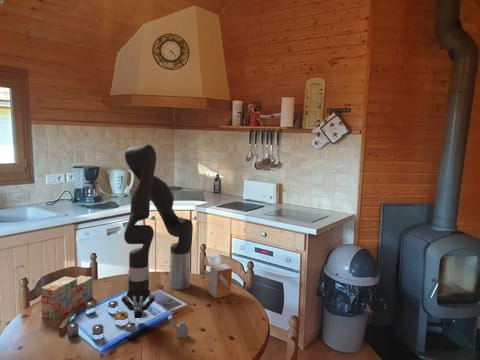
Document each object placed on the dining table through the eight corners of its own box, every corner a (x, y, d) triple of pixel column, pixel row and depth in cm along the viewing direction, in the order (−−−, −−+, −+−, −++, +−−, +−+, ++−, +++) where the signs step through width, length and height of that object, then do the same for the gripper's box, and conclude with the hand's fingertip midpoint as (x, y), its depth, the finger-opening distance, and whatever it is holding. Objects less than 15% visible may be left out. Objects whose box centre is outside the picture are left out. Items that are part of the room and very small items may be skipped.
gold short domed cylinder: (129, 319, 145) (129, 311, 144) (126, 326, 140) (126, 317, 140) (116, 319, 144) (116, 311, 144) (113, 326, 139) (113, 317, 139)
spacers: (143, 309, 153) (143, 300, 153) (134, 339, 131) (134, 329, 131) (84, 310, 151) (84, 300, 150) (64, 340, 129) (64, 330, 128)
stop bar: (77, 313, 148) (77, 307, 147) (63, 334, 133) (63, 327, 132) (73, 313, 147) (73, 307, 147) (58, 334, 133) (58, 327, 132)
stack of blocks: (81, 295, 164) (81, 268, 163) (93, 297, 162) (92, 270, 161) (41, 317, 144) (40, 287, 142) (54, 320, 142) (53, 289, 140)
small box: (216, 298, 166) (217, 270, 164) (208, 293, 171) (209, 266, 169) (231, 294, 171) (232, 267, 169) (223, 289, 176) (224, 263, 174)
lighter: (187, 334, 136) (188, 314, 135) (187, 337, 134) (188, 316, 133) (167, 335, 135) (168, 314, 134) (167, 338, 133) (168, 317, 132)
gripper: (157, 273, 145) (156, 314, 147) (122, 272, 143) (122, 315, 146) (155, 280, 137) (154, 324, 140) (118, 280, 136) (118, 325, 138)
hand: (138, 319), depth 143 cm, fingers closed
